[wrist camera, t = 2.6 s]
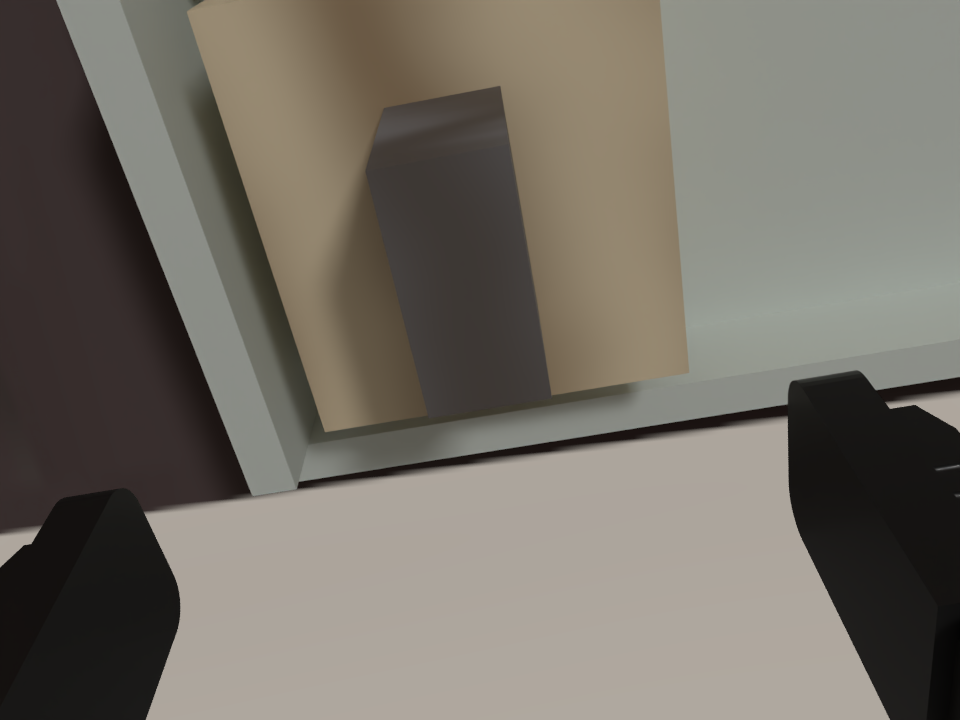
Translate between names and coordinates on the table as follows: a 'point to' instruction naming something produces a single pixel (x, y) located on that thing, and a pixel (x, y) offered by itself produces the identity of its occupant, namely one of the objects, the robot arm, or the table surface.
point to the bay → (700, 216)
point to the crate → (457, 194)
